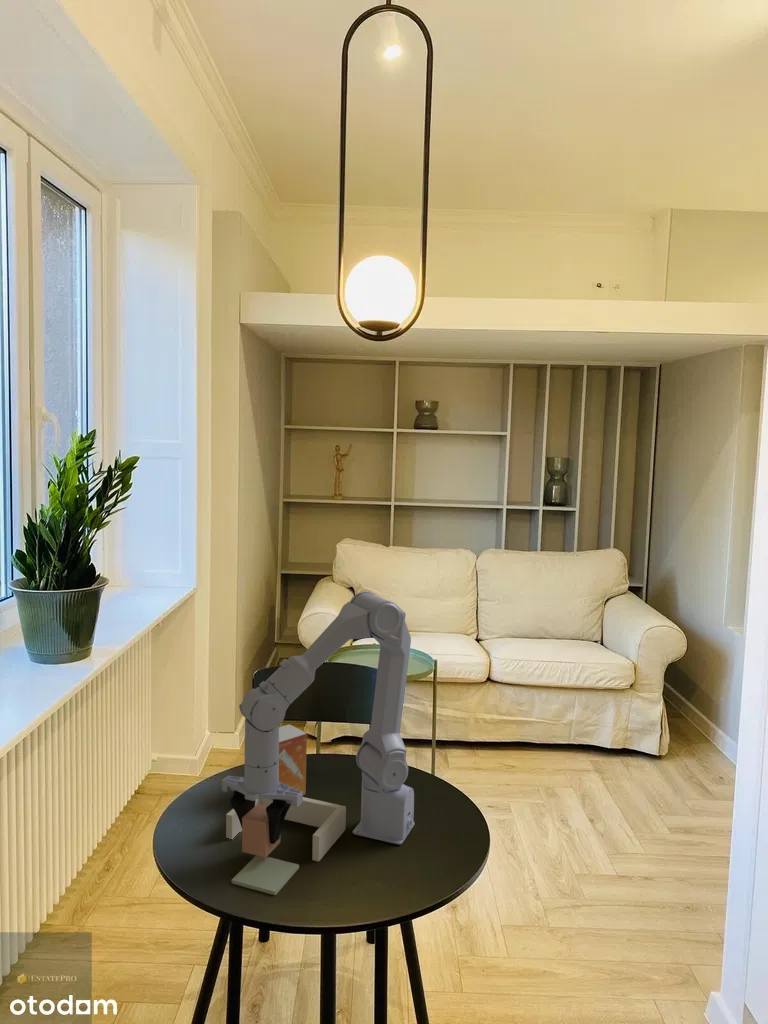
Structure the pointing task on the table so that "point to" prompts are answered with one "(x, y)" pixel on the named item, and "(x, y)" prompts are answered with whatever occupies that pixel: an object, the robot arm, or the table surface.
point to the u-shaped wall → (305, 822)
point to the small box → (292, 757)
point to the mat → (265, 874)
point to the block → (257, 832)
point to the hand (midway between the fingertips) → (261, 837)
